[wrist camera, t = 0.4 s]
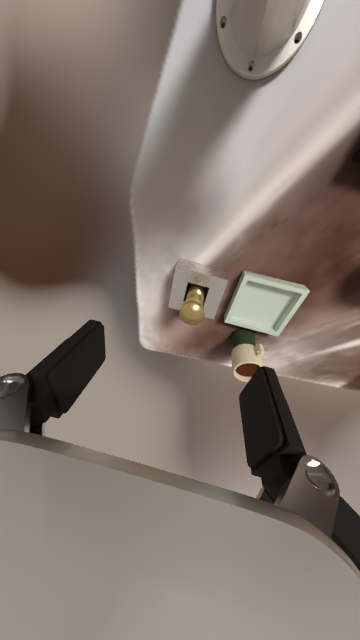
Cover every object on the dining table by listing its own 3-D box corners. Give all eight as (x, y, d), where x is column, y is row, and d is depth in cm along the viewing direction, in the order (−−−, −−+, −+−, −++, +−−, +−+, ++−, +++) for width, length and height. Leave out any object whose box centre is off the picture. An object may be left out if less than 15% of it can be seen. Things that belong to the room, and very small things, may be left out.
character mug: (241, 352, 54) (246, 390, 43) (221, 342, 53) (221, 378, 42) (266, 329, 47) (280, 366, 37) (243, 317, 46) (251, 351, 36)
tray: (243, 270, 40) (245, 274, 37) (304, 285, 39) (310, 291, 37) (224, 316, 47) (224, 322, 45) (274, 329, 47) (278, 336, 44)
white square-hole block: (180, 258, 41) (175, 266, 36) (227, 270, 40) (228, 280, 35) (173, 296, 46) (168, 307, 42) (214, 306, 46) (213, 319, 41)
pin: (191, 273, 42) (181, 300, 31) (209, 277, 42) (207, 307, 30) (187, 290, 45) (177, 321, 33) (204, 294, 45) (200, 327, 33)
